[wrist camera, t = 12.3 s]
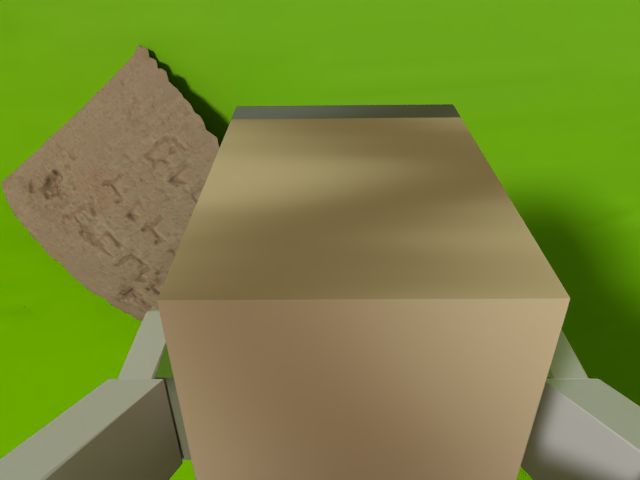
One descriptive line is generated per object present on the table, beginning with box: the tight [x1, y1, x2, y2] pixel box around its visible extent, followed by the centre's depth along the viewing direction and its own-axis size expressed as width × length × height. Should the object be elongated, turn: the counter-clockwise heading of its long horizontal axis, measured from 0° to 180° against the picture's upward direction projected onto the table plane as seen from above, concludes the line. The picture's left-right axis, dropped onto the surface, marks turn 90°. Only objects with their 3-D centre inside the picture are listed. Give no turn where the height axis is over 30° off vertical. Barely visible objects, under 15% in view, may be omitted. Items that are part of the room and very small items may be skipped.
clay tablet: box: [2, 45, 220, 321], centre depth 25 cm, size 14×10×3 cm
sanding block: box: [157, 105, 570, 480], centre depth 9 cm, size 4×7×5 cm, turn 1°
